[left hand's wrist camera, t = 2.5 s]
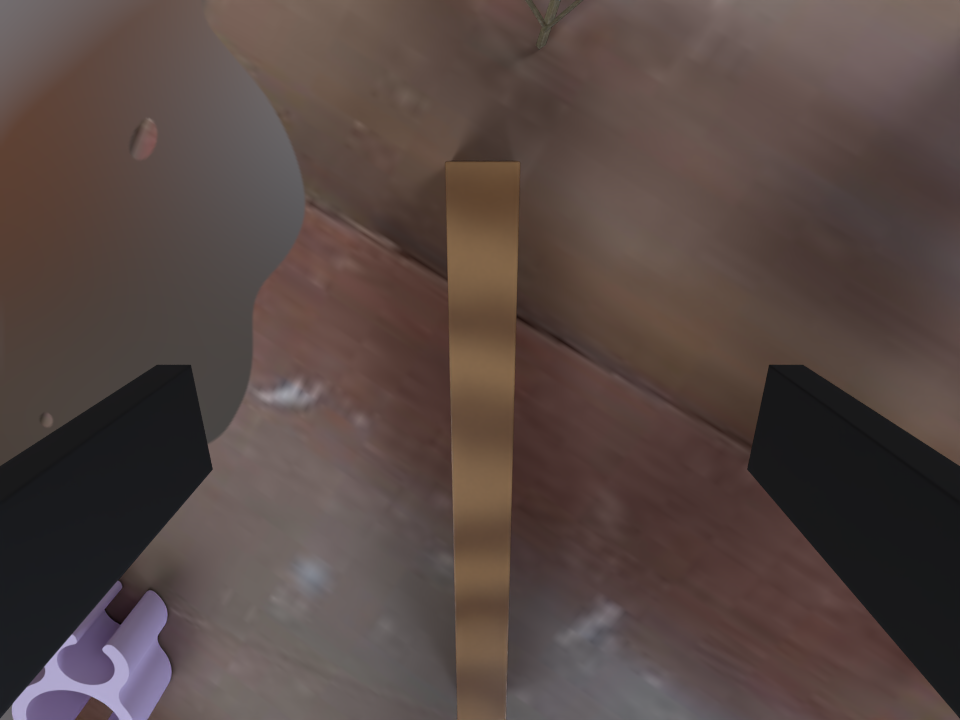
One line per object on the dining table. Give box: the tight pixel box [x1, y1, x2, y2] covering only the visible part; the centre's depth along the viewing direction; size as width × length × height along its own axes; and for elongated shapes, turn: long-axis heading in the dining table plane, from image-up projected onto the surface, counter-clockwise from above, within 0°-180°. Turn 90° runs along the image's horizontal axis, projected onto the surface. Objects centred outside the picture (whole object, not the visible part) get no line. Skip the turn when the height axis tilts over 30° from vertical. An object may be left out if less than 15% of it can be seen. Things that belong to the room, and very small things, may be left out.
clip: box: [12, 581, 172, 720], centre depth 58 cm, size 20×12×7 cm, turn 158°
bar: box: [445, 161, 520, 720], centre depth 50 cm, size 60×5×7 cm, turn 0°
